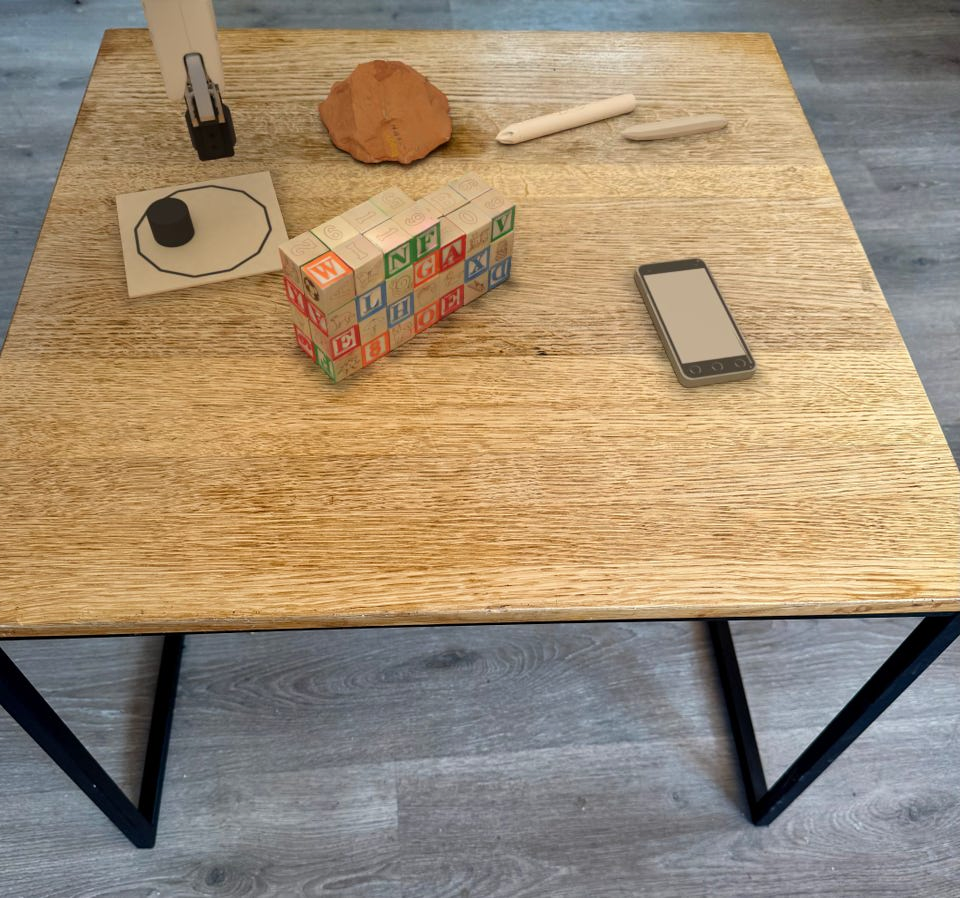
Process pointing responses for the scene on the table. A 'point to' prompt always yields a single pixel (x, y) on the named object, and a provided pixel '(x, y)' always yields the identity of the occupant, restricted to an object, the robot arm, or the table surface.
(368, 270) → the stack of blocks
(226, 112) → the right eye dot
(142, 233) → the face card
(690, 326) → the smartphone
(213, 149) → the robot arm
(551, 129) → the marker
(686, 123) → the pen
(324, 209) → the table surface
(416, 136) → the stone
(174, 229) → the left eye dot
